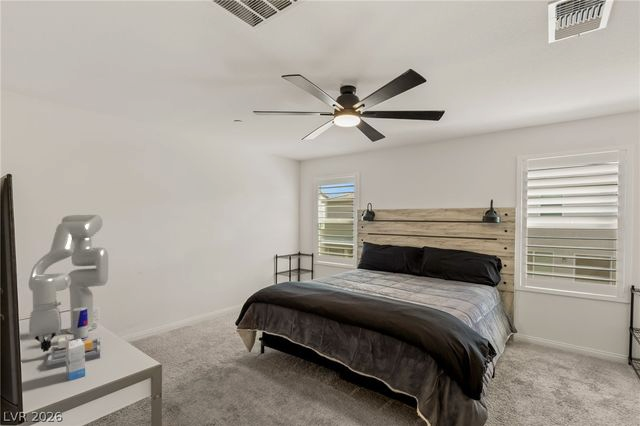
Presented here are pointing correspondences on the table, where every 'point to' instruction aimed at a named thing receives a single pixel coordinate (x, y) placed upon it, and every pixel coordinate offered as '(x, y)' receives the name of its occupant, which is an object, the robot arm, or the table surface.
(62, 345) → the block
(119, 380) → the table surface
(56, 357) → the console
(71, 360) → the ink box
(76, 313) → the beverage can
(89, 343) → the block
